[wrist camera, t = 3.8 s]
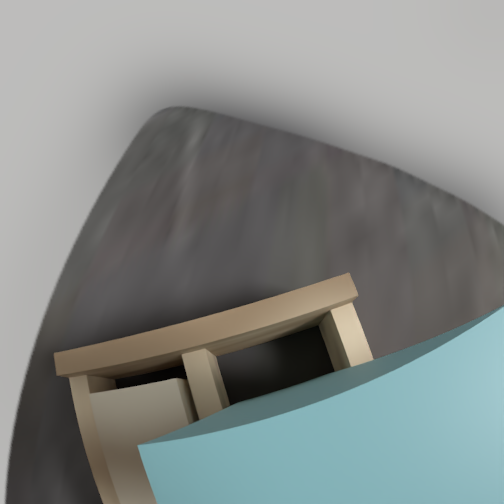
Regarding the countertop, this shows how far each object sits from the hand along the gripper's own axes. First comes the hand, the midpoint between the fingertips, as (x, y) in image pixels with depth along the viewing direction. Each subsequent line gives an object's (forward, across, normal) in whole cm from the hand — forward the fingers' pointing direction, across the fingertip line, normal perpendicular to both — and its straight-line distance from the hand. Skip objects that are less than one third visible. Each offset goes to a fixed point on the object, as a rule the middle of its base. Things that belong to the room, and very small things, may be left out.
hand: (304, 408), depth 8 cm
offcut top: (+3, +6, +4) cm, 8 cm away
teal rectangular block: (+4, 0, +6) cm, 7 cm away
